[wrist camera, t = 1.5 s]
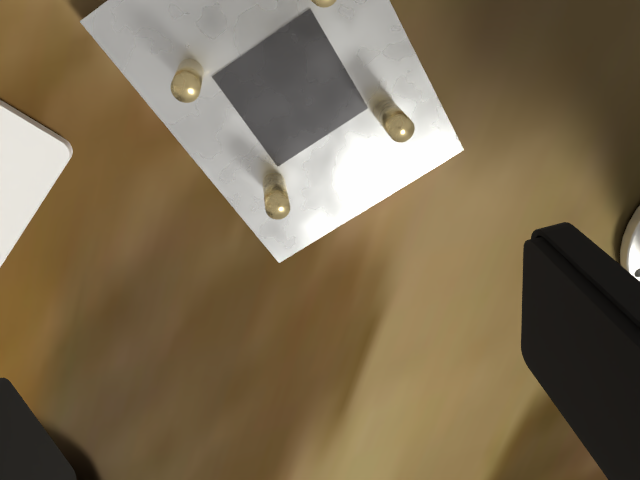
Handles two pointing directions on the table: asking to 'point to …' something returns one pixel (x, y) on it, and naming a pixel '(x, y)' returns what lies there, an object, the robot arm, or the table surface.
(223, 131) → the chassis plate
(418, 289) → the table surface
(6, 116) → the tablet stand
